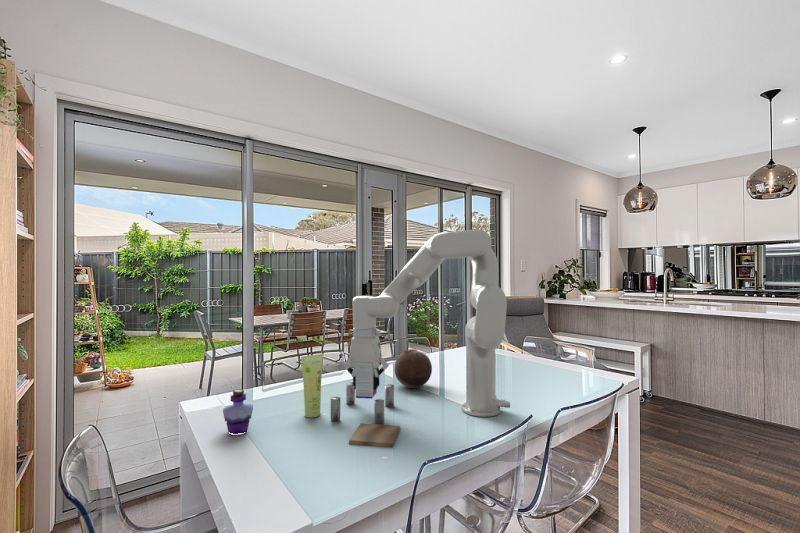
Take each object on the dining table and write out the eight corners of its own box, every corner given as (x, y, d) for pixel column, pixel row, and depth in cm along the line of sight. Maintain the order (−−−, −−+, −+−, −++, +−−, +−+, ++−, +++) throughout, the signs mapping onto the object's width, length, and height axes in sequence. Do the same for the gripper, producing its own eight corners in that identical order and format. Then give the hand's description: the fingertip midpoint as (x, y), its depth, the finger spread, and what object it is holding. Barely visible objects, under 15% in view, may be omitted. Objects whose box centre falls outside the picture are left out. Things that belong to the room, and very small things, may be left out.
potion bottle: (230, 425, 119) (230, 386, 119) (258, 426, 119) (258, 386, 119) (216, 438, 111) (216, 395, 111) (246, 438, 110) (246, 395, 110)
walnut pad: (400, 429, 117) (400, 425, 117) (392, 447, 105) (392, 443, 105) (360, 426, 119) (360, 423, 119) (348, 443, 107) (348, 440, 107)
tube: (314, 419, 124) (314, 357, 124) (300, 417, 126) (300, 356, 126) (323, 413, 130) (323, 353, 130) (309, 411, 131) (309, 352, 131)
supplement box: (373, 398, 127) (371, 363, 127) (355, 398, 128) (354, 362, 128) (377, 393, 132) (376, 358, 132) (360, 392, 134) (359, 358, 134)
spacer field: (394, 404, 138) (394, 384, 138) (383, 425, 119) (383, 402, 119) (347, 401, 141) (347, 382, 141) (329, 422, 122) (329, 399, 122)
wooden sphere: (439, 388, 157) (439, 350, 157) (408, 395, 148) (408, 355, 148) (416, 379, 169) (416, 344, 169) (387, 385, 160) (387, 348, 161)
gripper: (392, 331, 132) (394, 385, 132) (343, 331, 135) (344, 384, 135) (388, 335, 125) (389, 392, 125) (336, 335, 128) (337, 391, 128)
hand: (366, 387), depth 130 cm, fingers closed on supplement box, 5 cm apart
